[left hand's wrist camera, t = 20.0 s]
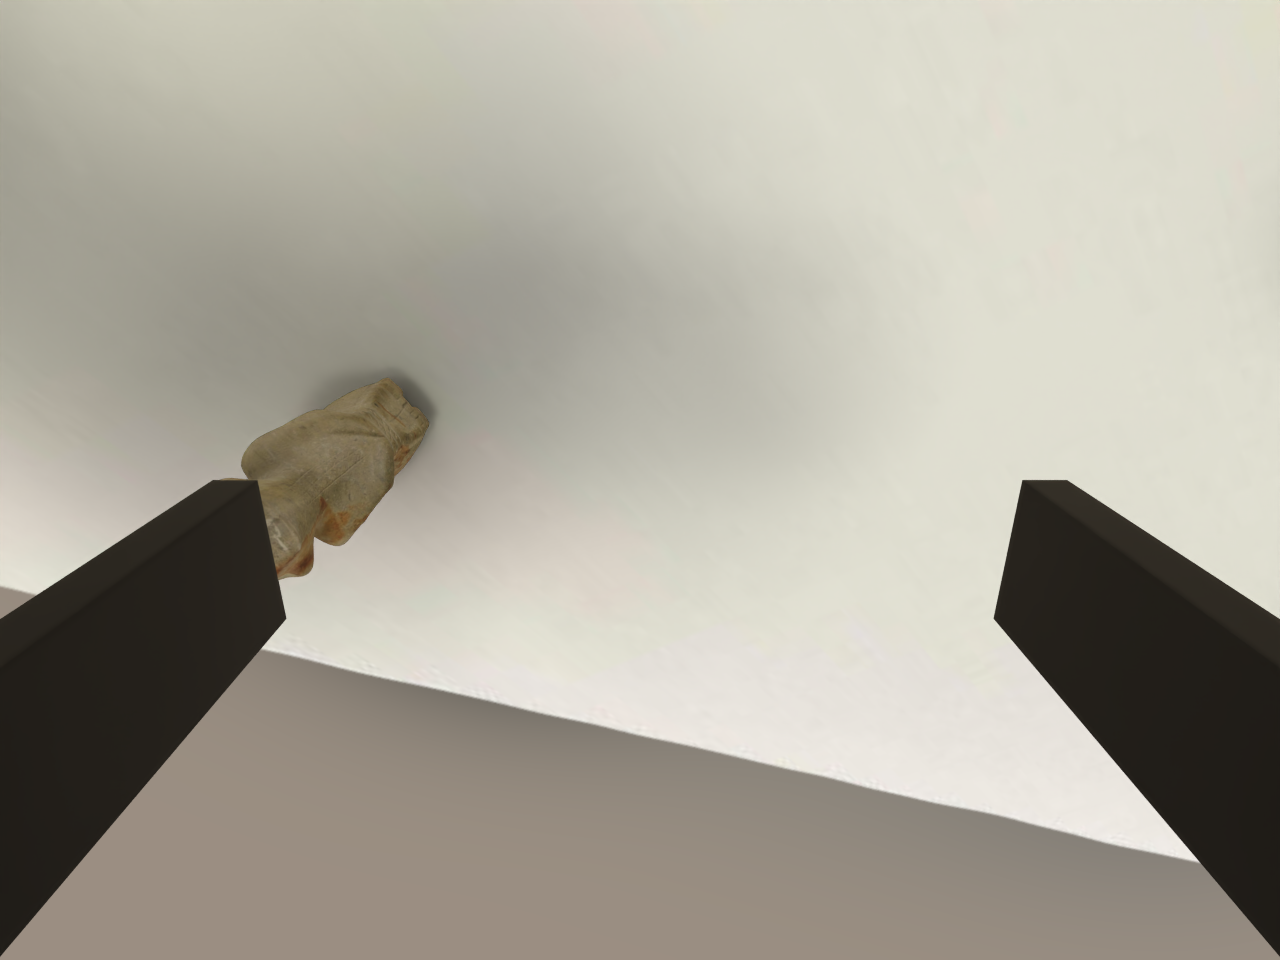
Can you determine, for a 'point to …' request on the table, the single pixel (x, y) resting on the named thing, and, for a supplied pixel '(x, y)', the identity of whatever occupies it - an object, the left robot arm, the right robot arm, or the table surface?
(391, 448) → the sculpture
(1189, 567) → the left robot arm
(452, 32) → the table surface
